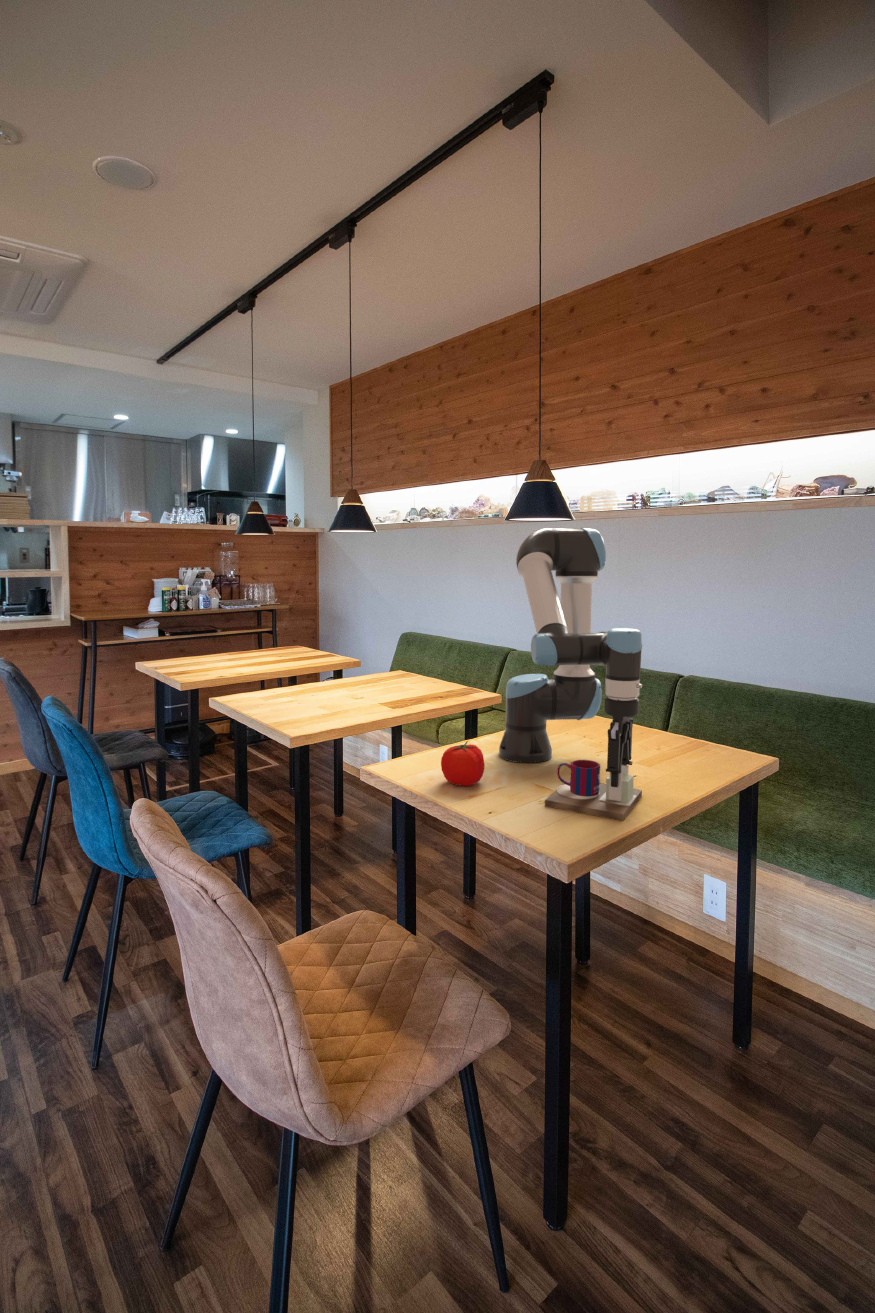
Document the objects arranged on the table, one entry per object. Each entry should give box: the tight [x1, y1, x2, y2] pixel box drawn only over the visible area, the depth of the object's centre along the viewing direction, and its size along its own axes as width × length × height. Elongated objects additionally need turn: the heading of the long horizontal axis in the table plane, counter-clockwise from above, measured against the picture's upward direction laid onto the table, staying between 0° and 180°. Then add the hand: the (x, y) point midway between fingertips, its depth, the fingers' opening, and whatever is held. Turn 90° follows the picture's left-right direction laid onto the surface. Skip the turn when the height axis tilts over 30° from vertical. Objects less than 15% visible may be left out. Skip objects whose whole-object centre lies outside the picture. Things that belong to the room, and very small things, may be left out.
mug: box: [556, 759, 601, 796], centre depth 160 cm, size 7×10×7 cm
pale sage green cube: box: [605, 774, 634, 803], centre depth 155 cm, size 5×5×5 cm
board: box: [544, 777, 643, 822], centre depth 159 cm, size 18×18×2 cm
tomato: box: [440, 740, 485, 787], centre depth 171 cm, size 11×13×10 cm
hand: (618, 795), depth 156 cm, fingers closed on pale sage green cube, 5 cm apart
